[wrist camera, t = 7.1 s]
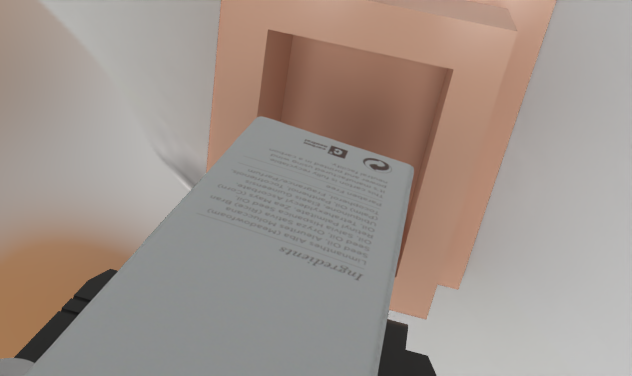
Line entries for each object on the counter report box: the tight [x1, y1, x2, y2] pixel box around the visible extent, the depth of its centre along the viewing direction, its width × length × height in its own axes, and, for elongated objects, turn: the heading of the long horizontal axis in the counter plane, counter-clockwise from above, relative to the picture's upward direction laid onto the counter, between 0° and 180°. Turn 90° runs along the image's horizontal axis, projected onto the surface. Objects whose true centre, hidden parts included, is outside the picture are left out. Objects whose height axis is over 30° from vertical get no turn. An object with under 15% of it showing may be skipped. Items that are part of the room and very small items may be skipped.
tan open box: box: [206, 0, 556, 319], centre depth 23 cm, size 12×13×5 cm
